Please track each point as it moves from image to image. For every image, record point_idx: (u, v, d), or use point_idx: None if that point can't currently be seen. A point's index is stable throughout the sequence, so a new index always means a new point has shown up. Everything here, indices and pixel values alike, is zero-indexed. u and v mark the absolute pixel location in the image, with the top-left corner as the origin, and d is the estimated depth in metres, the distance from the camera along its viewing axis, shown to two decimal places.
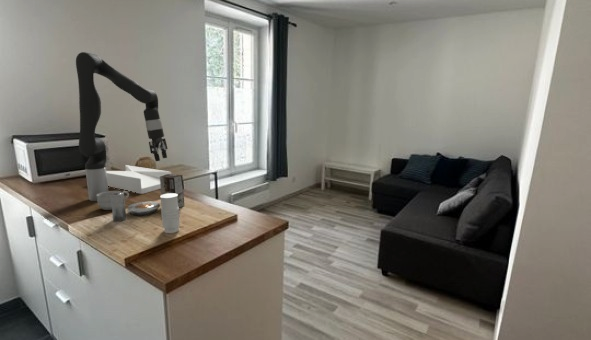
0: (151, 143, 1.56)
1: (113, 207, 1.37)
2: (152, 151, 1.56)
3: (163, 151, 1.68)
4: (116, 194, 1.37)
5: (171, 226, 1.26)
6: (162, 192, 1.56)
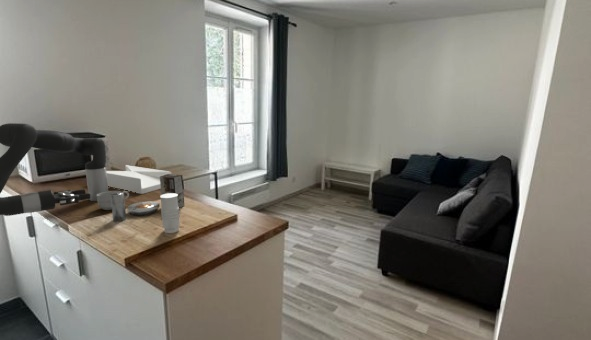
0: None
1: (113, 207, 1.37)
2: None
3: None
4: (116, 194, 1.37)
5: (171, 226, 1.26)
6: (162, 192, 1.56)
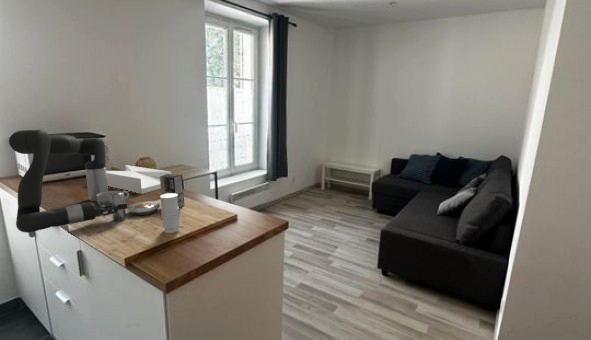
0: None
1: None
2: None
3: None
4: (116, 194, 1.37)
5: (171, 226, 1.26)
6: (162, 192, 1.56)
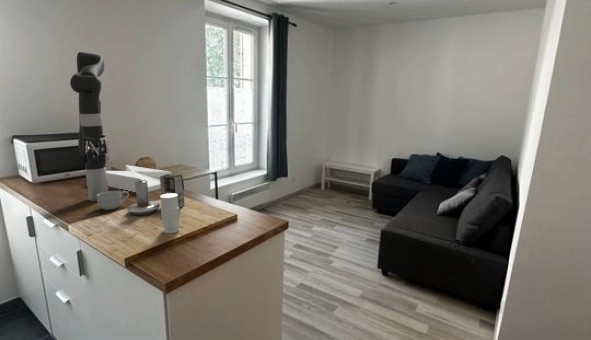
0: None
1: (138, 194, 1.46)
2: None
3: None
4: (140, 182, 1.46)
5: (171, 226, 1.26)
6: (162, 192, 1.56)
